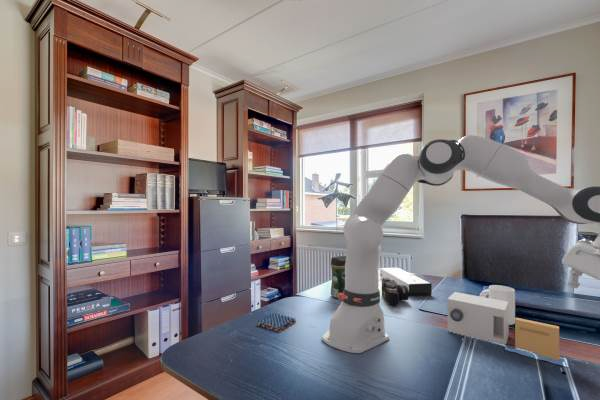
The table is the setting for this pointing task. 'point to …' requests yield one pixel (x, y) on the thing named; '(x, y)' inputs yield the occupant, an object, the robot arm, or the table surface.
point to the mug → (503, 298)
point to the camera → (393, 292)
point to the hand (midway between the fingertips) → (587, 294)
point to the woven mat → (277, 322)
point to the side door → (537, 337)
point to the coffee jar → (338, 275)
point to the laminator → (407, 281)
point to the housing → (478, 317)
